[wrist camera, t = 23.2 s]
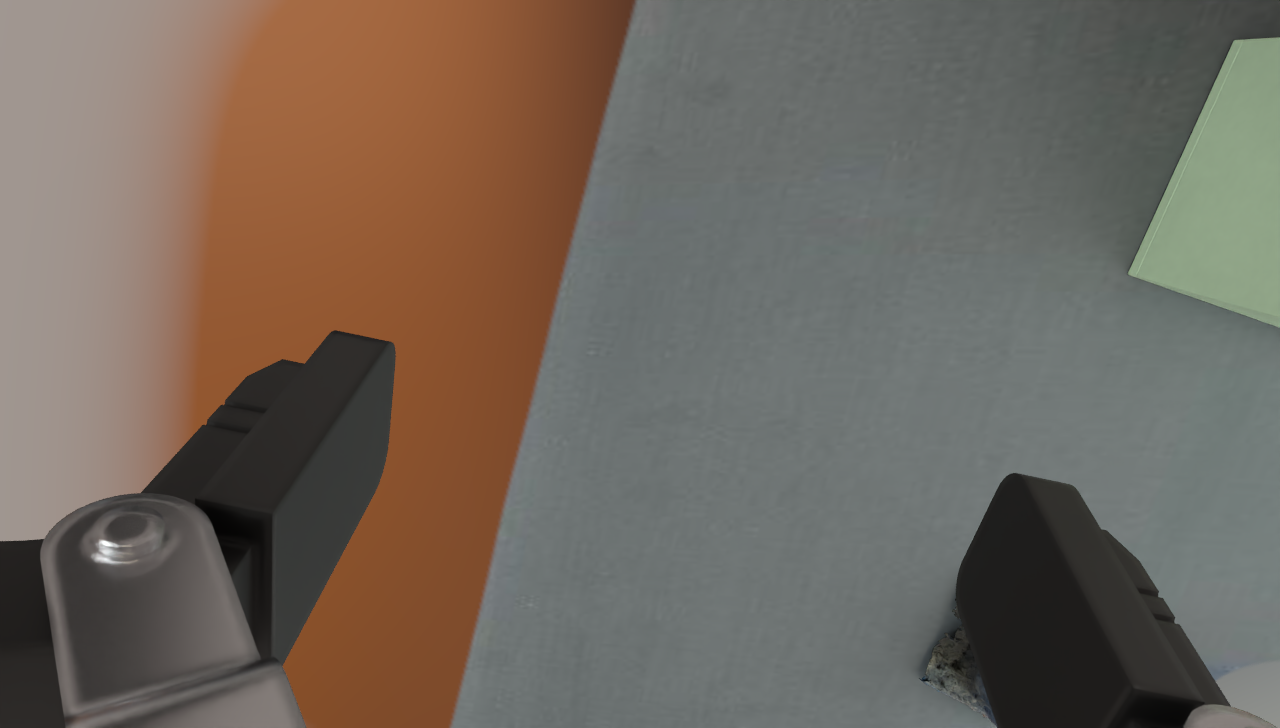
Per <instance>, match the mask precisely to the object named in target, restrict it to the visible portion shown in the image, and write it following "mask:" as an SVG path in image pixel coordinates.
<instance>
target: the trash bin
mask: <svg viewBox="0 0 1280 728" xmlns="http://www.w3.org/2000/svg"><path fill="white" fill-rule="evenodd" d="M1128 275H1130V276H1133V277H1136V278H1139V279H1142V280H1144V281H1147V282H1150V283H1153V284H1156V285H1159V286H1162V287H1164V288H1167V289H1170V290H1173V291H1176V292H1179V293H1182V294H1185V295H1187V296H1190V297H1193V298H1196V299H1199V300H1202V301H1205V302H1208V303H1210V304H1213V305H1216V306H1219V307H1222V308H1225V309H1228V310H1231V311H1233V312H1236V313H1239V314H1242V315H1245V316H1248V317H1251V318H1254V319H1256V320H1259V321H1262V322H1265V323H1268V324H1271V325H1274V326H1277V327H1279V328H1280V37H1278V38H1262V39H1246V40H1234V41H1233V44H1232V46H1231V48H1230V50H1229V52H1228V55H1227V57H1226V59H1225V61H1224V63H1223V65H1222V68H1221V70H1220V72H1219V74H1218V76H1217V79H1216V81H1215V83H1214V85H1213V87H1212V90H1211V92H1210V94H1209V96H1208V98H1207V101H1206V103H1205V105H1204V107H1203V109H1202V112H1201V114H1200V116H1199V118H1198V120H1197V123H1196V125H1195V127H1194V129H1193V131H1192V134H1191V136H1190V138H1189V140H1188V142H1187V145H1186V147H1185V149H1184V151H1183V153H1182V156H1181V158H1180V160H1179V162H1178V164H1177V167H1176V169H1175V171H1174V173H1173V175H1172V178H1171V180H1170V182H1169V184H1168V186H1167V189H1166V191H1165V193H1164V195H1163V197H1162V200H1161V202H1160V204H1159V206H1158V208H1157V211H1156V213H1155V215H1154V217H1153V219H1152V222H1151V224H1150V226H1149V228H1148V230H1147V233H1146V235H1145V237H1144V239H1143V241H1142V244H1141V246H1140V248H1139V250H1138V252H1137V255H1136V257H1135V259H1134V261H1133V263H1132V266H1131V268H1130V270H1129V272H1128Z"/></svg>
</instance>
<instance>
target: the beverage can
mask: <svg viewBox="0 0 1280 728" xmlns="http://www.w3.org/2000/svg"><path fill="white" fill-rule="evenodd" d="M955 601H956V599H955ZM952 612H955V614H954V615H955V616H956V617H957V618H958V619H959V618H960V615H959V612H958V608H957V606H956V610H955V609H953V610H952ZM960 619H961V618H960ZM959 627H960V628H962V627H963V625H962V627H961V626H959ZM959 630H960V629H959V628H958V630H957V632H956V634H955V635H956V636H955V638H954V639H953V638H952V637H951V636H949V634H948V633H945V634H946V636H947V637H945V638H943V639H941V640H939V641H938V642H940V644H938V645H936V646H935V647H934V648H933V652H932V659H931V660H930V659H929V660H930V661H931V662H929V664H928V667H927V671H926V674H925V676H924V677H923V678H922V680H921V679H920V678H919V679H920V680H921V681H923V682H924V683H925V684H926V685H930V686H932V688H934V689H936V690H937V691H938V692H942V693H944V694H946V695H947V696H949V697H952V698H954V699H957V700H958V701H960V702H961V703H965V704H966V705H968V706H969V707H971V708H972V710H975V711H977V712H980V713H982V714H983V716H984V717H987V718H989V719H990V720H991V722H992V723H994V724H995V725H996V726H997V723H996V720H995V718H994V715H993V712H992V709H991V706H990V703H989V700H988V697H987V694H986V691H985V688H984V685H983V682H982V680H981V677H980V674H979V671H978V668H977V665H976V662H975V659H974V656H973V653H972V650H971V647H970V644H969V641H968V639H967V636H966V633H965V630H964V629H962V630H963V631H962V630H961V632H960V631H959ZM964 634H965V635H964ZM963 636H964V637H963ZM956 638H958V639H959V638H960V639H962V640H961V641H958V640H956ZM960 639H959V640H960ZM997 728H998V726H997Z"/></svg>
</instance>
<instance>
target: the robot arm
mask: <svg viewBox="0 0 1280 728" xmlns="http://www.w3.org/2000/svg"><path fill="white" fill-rule="evenodd" d="M394 371H395V347H394V344H393V343H392V342H389V341H384V340H379V339H374V338H369V337H364V336H360V335H355V334H350V333H345V332H340V331H332V332H331V333H330V334H329V335H328V336H327V337H326V339H325V340H324V341H323V342H322V343H321V345H320V346H319V347H318V348H317V350H316V351H315V352H314V353H313V354H312V356H311V357H310V358H309V359H308V361H307V362H306V363H305V364H303V363H298V362H293V361H288V360H283V359H282V360H280V361H278V362H276V363H274V364H272V365H270V366H268V367H266V368H263V369H261V370H259V371H257V372H255V373H253V374H251V375H249V376H247V377H246V378H245V379H244V380H243V381H242V383H241V384H240V385H239V386H238V387H237V388H236V389H235V390H234V391H233V392H232V394H231V395H230V396H229V397H228V398H227V399H226V400H225V405H221V406H220V407H219V408H218V409H217V410H216V411H215V412H214V413H213V414H212V415H211V417H210V418H209V419H208V421H207V425H202V426H201V428H200V429H199V430H198V431H197V432H196V433H195V434H194V435H193V436H192V437H191V438H190V440H189V441H188V442H187V443H186V444H185V445H184V446H183V447H182V448H181V449H180V451H179V452H178V453H177V454H176V455H175V456H174V457H173V458H172V459H171V461H170V462H169V463H168V464H167V465H166V466H165V467H164V468H163V470H161V471H160V472H159V474H158V475H157V476H156V477H155V478H154V479H153V480H152V481H151V482H150V484H149V485H148V486H147V487H146V488H145V489H144V490H143V491H142V492H141V493H138V494H127V495H119V496H114V497H110V498H106V499H102V500H99V501H96V502H93V503H90V504H88V505H86V506H84V507H81V508H79V509H77V510H75V511H74V512H72V513H70V514H69V515H67V516H66V517H65V518H63V519H62V520H61V521H59V522H58V523H57V524H56V525H55V526H54V527H53V528H52V529H51V530H50V531H49V533H48V534H47V536H46V538H45V539H40V540H27V541H0V728H306V725H305V723H304V720H303V717H302V715H301V712H300V710H299V707H298V704H297V702H296V699H295V697H294V694H293V691H292V689H291V686H290V683H289V681H288V678H287V676H286V673H285V671H284V670H283V667H282V666H283V664H284V662H285V660H286V658H287V656H288V654H289V652H290V650H291V649H292V647H293V645H294V643H295V641H296V639H297V638H298V636H299V634H300V632H301V630H302V628H303V626H304V624H305V623H306V621H307V619H308V617H309V615H310V613H311V611H312V609H313V608H314V606H315V604H316V602H317V600H318V598H319V596H320V594H321V593H322V591H323V589H324V587H325V585H326V583H327V581H328V580H329V577H330V576H331V574H332V572H333V570H334V568H335V566H336V565H337V562H338V561H339V559H340V557H341V555H342V553H343V551H344V550H345V548H346V546H347V544H348V542H349V540H350V538H351V536H352V534H353V533H354V531H355V529H356V527H357V525H358V523H359V521H360V520H361V518H362V516H363V514H364V512H365V510H366V508H367V507H368V505H369V503H370V501H371V499H372V497H373V495H374V493H375V491H376V489H377V487H378V484H379V482H380V479H381V476H382V473H383V469H384V465H385V461H386V456H387V451H388V443H389V431H390V419H391V408H392V396H393V395H392V394H393V383H394ZM1158 593H1159V591H1158V590H1157V588H1156V587H1155V585H1154V583H1153V582H1152V580H1151V579H1150V577H1149V576H1148V574H1147V572H1146V571H1145V569H1144V568H1143V566H1142V564H1141V563H1140V561H1139V560H1138V559H1137V558H1136V557H1135V556H1133V555H1132V554H1131V553H1130V552H1129V551H1128V550H1127V549H1126V548H1125V547H1124V546H1123V545H1122V544H1121V543H1119V542H1118V541H1117V540H1116V539H1115V538H1114V537H1113V536H1112V535H1111V534H1110V533H1109V532H1108V531H1106V530H1101V528H1100V527H1099V525H1098V523H1097V522H1096V520H1095V518H1094V517H1093V515H1092V513H1091V512H1090V510H1089V508H1088V507H1087V505H1086V503H1085V502H1084V500H1083V498H1082V497H1081V495H1080V493H1079V492H1078V491H1077V489H1076V488H1075V487H1074V486H1072V485H1070V484H1066V483H1061V482H1056V481H1051V480H1046V479H1041V478H1037V477H1032V476H1027V475H1022V474H1017V473H1012V474H1009V475H1008V476H1006V477H1005V478H1004V479H1003V481H1002V482H1001V483H1000V485H999V487H998V489H997V491H996V493H995V495H994V497H993V499H992V501H991V503H990V505H989V507H988V509H987V511H986V513H985V515H984V518H983V520H982V522H981V524H980V526H979V528H978V530H977V532H976V534H975V536H974V538H973V540H972V542H971V544H970V546H969V548H968V550H967V553H966V555H965V557H964V559H963V561H962V563H961V566H960V569H959V573H958V577H957V584H956V603H957V608H958V612H959V615H960V618H961V621H962V624H963V627H964V630H965V633H966V636H967V639H968V641H969V644H970V647H971V650H972V653H973V656H974V659H975V662H976V665H977V668H978V671H979V674H980V677H981V680H982V682H983V685H984V688H985V691H986V694H987V697H988V700H989V703H990V706H991V709H992V712H993V715H994V718H995V720H996V723H997V726H998V728H1277V727H1276V726H1274V725H1273V724H1271V723H1269V722H1267V721H1265V720H1263V719H1262V718H1260V717H1257V716H1255V715H1253V714H1250V713H1248V712H1245V711H1243V710H1240V709H1237V708H1233V707H1231V706H1230V704H1229V703H1228V701H1227V699H1226V698H1225V696H1224V695H1223V693H1222V691H1221V690H1220V688H1219V687H1218V685H1217V683H1216V682H1215V680H1214V679H1213V677H1212V676H1211V674H1210V672H1209V671H1208V669H1207V668H1206V666H1205V664H1204V663H1203V661H1202V660H1201V658H1200V656H1199V655H1198V653H1197V652H1196V650H1195V649H1194V647H1193V645H1192V644H1191V642H1190V641H1189V639H1188V637H1187V636H1186V634H1185V633H1184V631H1183V630H1182V628H1181V626H1180V625H1179V624H1175V623H1174V619H1175V617H1174V615H1173V614H1172V612H1171V610H1170V609H1169V607H1168V606H1167V604H1166V603H1165V601H1164V599H1163V598H1159V597H1158Z"/></svg>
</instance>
